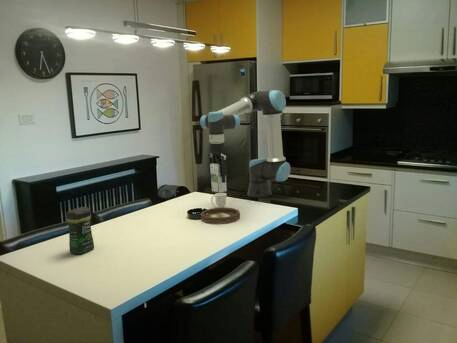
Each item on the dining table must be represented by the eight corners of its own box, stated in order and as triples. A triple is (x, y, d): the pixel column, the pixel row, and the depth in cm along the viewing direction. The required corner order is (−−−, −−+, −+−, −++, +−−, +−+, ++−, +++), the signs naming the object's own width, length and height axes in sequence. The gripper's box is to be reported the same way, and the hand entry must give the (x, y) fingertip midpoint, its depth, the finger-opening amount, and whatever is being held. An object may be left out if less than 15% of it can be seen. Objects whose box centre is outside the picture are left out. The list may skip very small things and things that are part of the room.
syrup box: (227, 190, 207) (225, 163, 205) (219, 193, 203) (217, 164, 201) (219, 189, 211) (217, 162, 209) (211, 191, 207) (209, 163, 205)
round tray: (225, 210, 223) (225, 205, 223) (247, 218, 207) (247, 212, 207) (194, 217, 212) (193, 212, 212) (214, 226, 196) (214, 220, 196)
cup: (223, 210, 225) (222, 196, 224) (208, 208, 230) (207, 194, 229) (229, 207, 231) (229, 193, 229) (215, 205, 236) (214, 192, 235)
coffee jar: (80, 256, 165) (75, 212, 162) (66, 253, 168) (61, 210, 165) (98, 248, 173) (93, 206, 170) (84, 246, 177) (79, 204, 174)
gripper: (200, 142, 209) (202, 186, 213) (221, 144, 193) (223, 191, 197) (212, 141, 213) (214, 183, 217) (234, 143, 197) (235, 189, 201)
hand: (218, 187), depth 207 cm, fingers closed on syrup box, 6 cm apart
